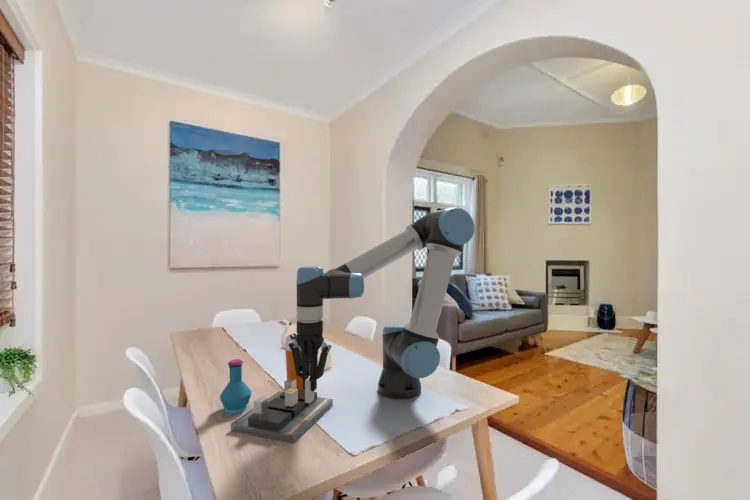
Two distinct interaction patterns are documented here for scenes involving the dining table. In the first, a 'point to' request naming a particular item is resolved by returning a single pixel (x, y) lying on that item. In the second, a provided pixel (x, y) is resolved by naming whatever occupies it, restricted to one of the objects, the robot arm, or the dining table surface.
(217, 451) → the dining table surface
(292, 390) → the breaker handle
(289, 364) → the shaker bottle
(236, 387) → the perfume bottle
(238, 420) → the panel
